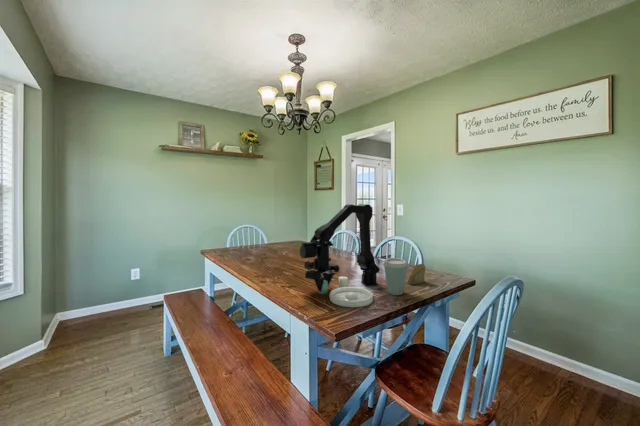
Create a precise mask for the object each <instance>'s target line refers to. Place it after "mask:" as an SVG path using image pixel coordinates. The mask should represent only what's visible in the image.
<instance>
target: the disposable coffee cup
mask: <svg viewBox="0 0 640 426" xmlns="http://www.w3.org/2000/svg"><path fill="white" fill-rule="evenodd" d="M382 266H383V267H384V269H383V270H384V273H385V280H386V286H387V291H388V294H390V295H393V296H399V295H403V294H404V291H405V284H406V276H407V271H408V270H407V269H408V263H407V261H406V260H404V259H403V258H398V257H389V258H386V259H384V261H383V264H382Z"/></svg>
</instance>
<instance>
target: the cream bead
mask: <svg viewBox="0 0 640 426" xmlns="http://www.w3.org/2000/svg"><path fill="white" fill-rule="evenodd" d="M341 287H349V277H347V276H339V277H338V288H341Z"/></svg>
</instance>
